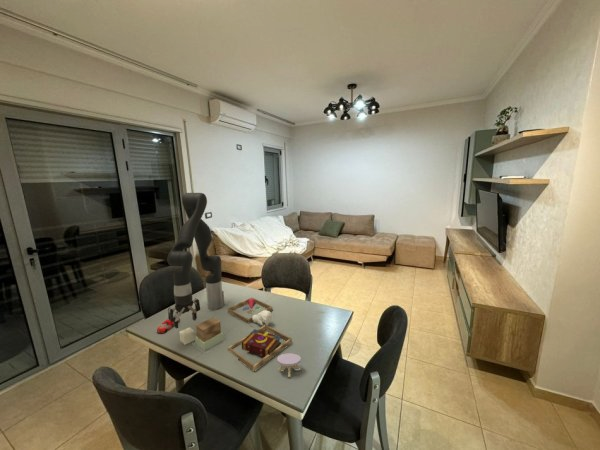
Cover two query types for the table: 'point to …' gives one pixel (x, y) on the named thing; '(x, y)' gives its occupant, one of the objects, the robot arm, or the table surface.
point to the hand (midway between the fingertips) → (185, 323)
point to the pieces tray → (246, 320)
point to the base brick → (209, 342)
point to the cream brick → (187, 335)
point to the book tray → (266, 358)
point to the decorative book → (261, 343)
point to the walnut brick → (208, 329)
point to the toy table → (288, 361)
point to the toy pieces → (250, 302)
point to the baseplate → (211, 347)
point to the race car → (166, 326)
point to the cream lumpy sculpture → (263, 317)
